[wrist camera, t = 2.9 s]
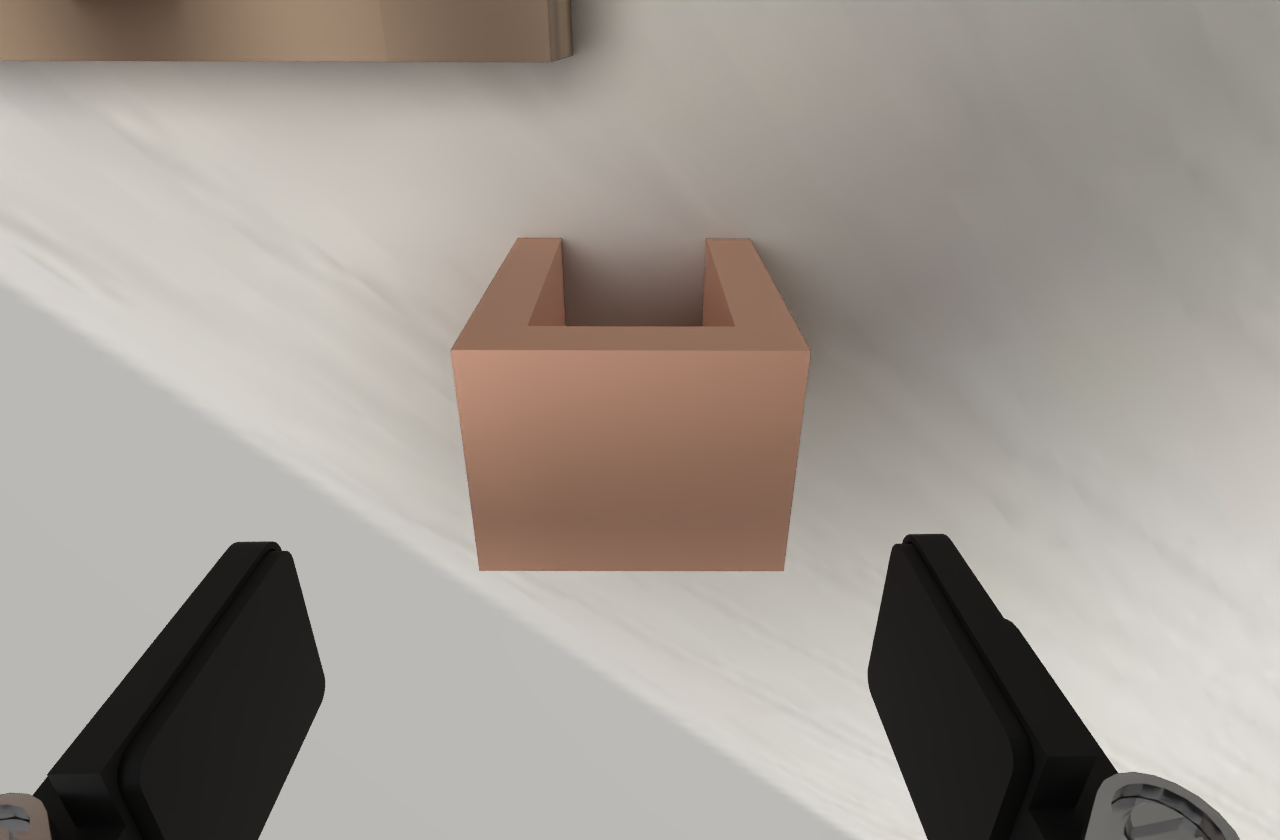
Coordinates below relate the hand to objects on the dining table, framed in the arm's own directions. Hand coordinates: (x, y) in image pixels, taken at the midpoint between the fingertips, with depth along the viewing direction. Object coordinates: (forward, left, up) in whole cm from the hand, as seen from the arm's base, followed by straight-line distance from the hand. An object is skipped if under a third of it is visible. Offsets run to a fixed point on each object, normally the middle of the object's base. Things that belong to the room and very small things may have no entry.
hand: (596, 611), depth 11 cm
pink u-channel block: (-1, -1, -11) cm, 11 cm away
